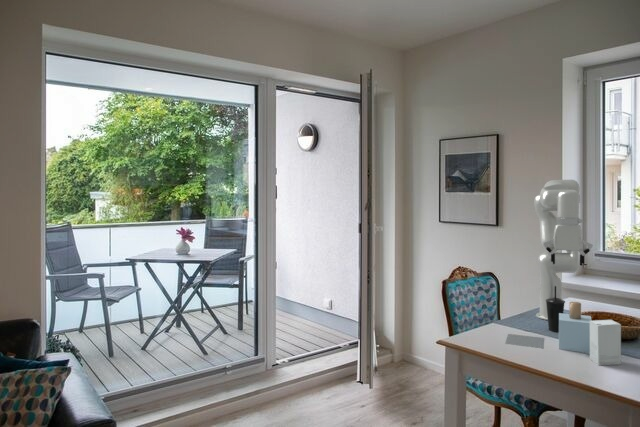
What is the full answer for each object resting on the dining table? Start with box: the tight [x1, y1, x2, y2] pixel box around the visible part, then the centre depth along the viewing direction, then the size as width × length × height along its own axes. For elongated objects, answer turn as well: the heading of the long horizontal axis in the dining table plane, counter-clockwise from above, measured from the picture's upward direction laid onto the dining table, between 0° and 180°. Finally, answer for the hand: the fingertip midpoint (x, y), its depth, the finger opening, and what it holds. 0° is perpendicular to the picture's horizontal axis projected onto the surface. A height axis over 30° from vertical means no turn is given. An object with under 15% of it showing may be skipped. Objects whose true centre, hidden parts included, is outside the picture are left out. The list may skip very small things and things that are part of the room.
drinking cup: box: [546, 286, 566, 333], centre depth 204 cm, size 8×8×20 cm
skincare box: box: [589, 319, 622, 366], centre depth 167 cm, size 8×6×15 cm
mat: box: [504, 333, 545, 349], centre depth 191 cm, size 14×14×1 cm
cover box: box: [558, 301, 593, 355], centre depth 183 cm, size 11×11×18 cm
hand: (567, 264), depth 187 cm, fingers open, 9 cm apart
